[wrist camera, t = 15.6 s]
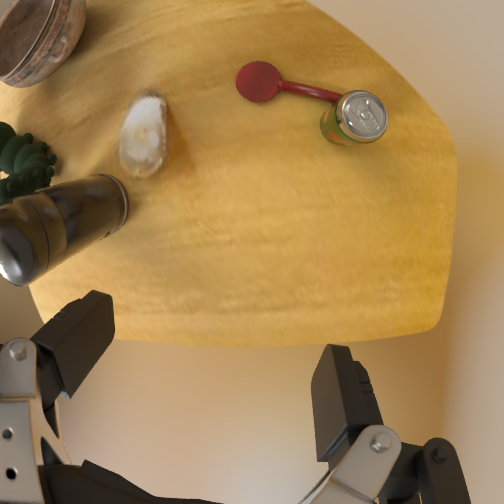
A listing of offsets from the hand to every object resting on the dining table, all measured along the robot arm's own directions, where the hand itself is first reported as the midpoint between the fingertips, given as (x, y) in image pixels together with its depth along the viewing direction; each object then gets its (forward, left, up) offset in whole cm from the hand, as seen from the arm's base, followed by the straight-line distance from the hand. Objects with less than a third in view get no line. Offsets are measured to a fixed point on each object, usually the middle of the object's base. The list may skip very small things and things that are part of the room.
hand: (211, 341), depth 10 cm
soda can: (+7, +12, -29) cm, 32 cm away
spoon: (+3, +15, -29) cm, 32 cm away
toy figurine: (-43, +2, -29) cm, 51 cm away
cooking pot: (-40, +23, -29) cm, 54 cm away
